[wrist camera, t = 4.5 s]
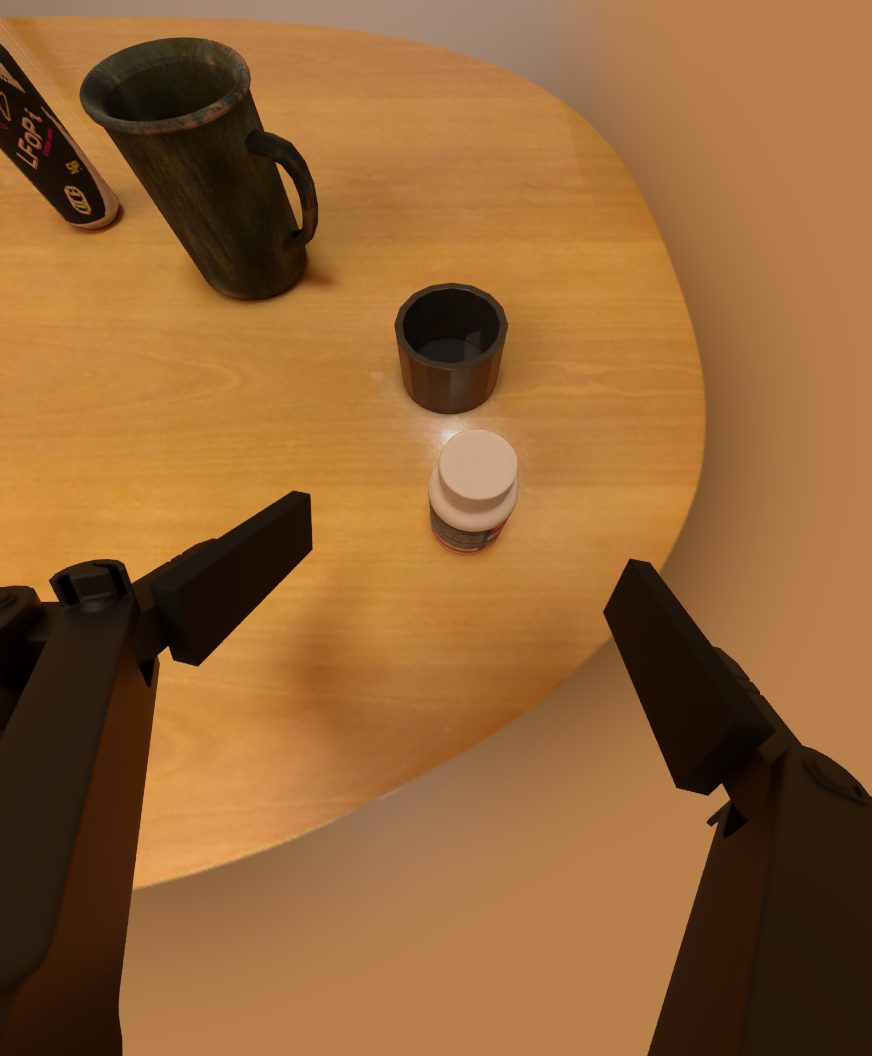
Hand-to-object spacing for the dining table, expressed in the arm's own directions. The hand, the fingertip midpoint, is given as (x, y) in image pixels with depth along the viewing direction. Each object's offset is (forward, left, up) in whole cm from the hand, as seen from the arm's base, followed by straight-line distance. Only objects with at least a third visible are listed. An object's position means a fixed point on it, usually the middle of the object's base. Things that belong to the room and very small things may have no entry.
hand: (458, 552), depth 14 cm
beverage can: (+46, -31, -10) cm, 56 cm away
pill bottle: (0, -5, -10) cm, 12 cm away
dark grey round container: (+4, -18, -10) cm, 21 cm away
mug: (+24, -27, -10) cm, 38 cm away
